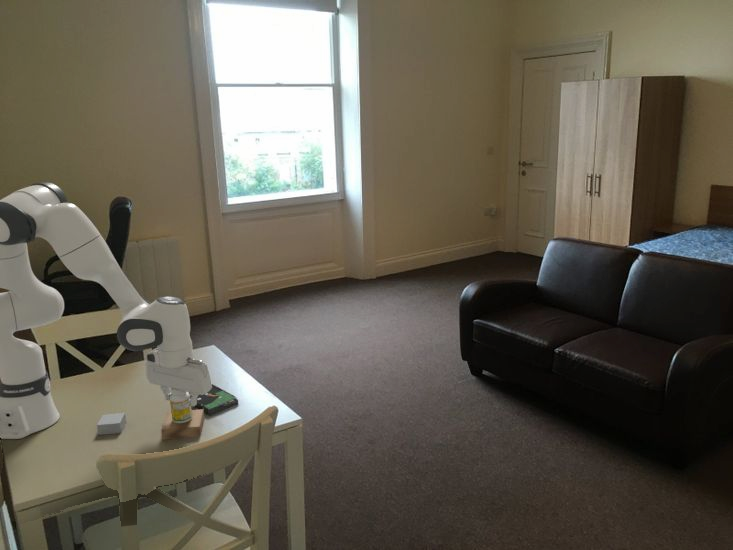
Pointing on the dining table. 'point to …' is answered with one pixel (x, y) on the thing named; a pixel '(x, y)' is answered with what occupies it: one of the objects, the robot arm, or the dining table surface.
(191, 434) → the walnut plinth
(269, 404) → the dining table surface
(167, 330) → the robot arm
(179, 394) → the supplement bottle
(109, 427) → the slate plinth
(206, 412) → the disk drive
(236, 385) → the dining table surface
